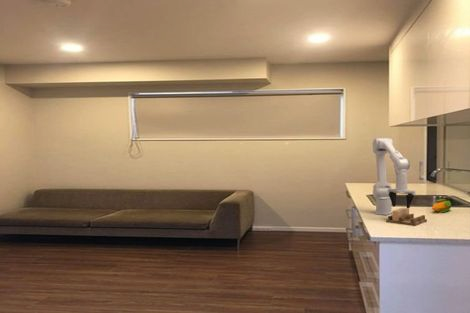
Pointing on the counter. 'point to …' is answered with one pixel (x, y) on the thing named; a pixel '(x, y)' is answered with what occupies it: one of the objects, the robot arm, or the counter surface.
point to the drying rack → (408, 220)
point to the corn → (442, 206)
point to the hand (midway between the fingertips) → (401, 207)
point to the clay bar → (399, 213)
